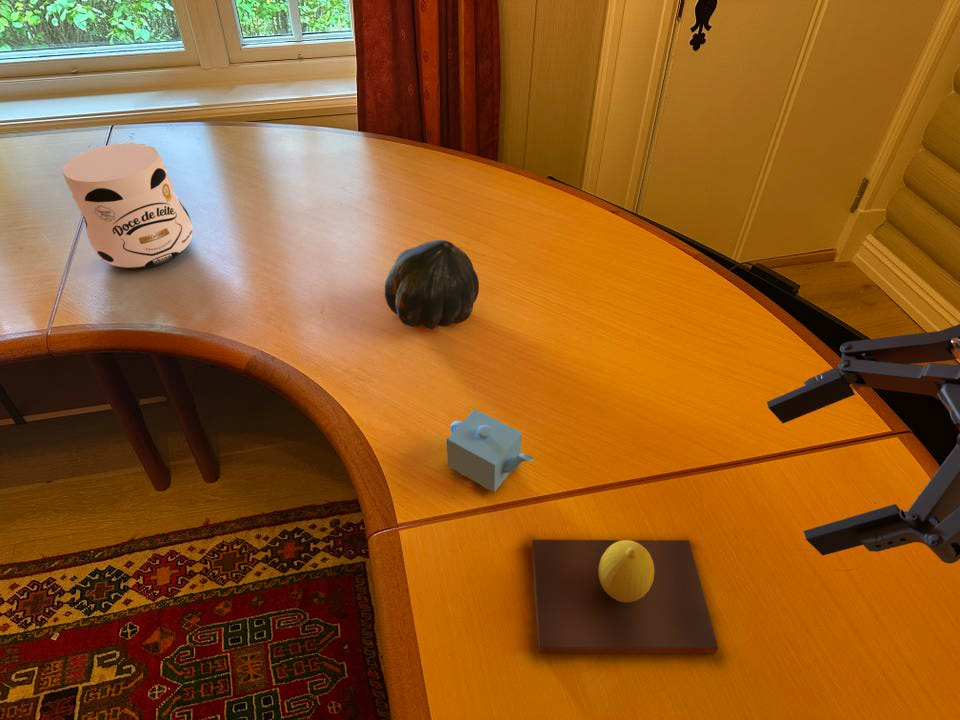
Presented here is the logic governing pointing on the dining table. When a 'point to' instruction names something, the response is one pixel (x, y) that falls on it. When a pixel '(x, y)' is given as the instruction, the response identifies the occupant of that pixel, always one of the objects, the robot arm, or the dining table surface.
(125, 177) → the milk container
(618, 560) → the lemon
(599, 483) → the dining table surface
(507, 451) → the knobbed blue-grey cube
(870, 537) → the robot arm
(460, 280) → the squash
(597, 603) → the cutting board
